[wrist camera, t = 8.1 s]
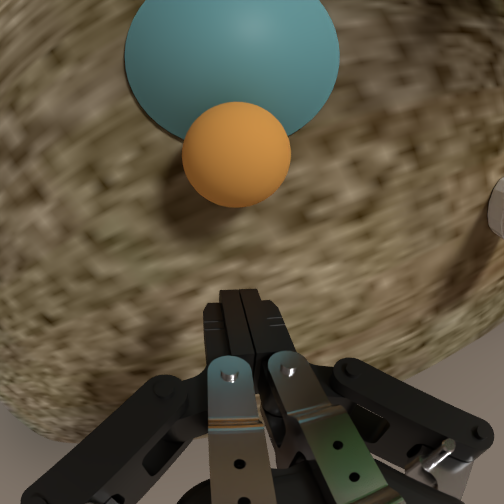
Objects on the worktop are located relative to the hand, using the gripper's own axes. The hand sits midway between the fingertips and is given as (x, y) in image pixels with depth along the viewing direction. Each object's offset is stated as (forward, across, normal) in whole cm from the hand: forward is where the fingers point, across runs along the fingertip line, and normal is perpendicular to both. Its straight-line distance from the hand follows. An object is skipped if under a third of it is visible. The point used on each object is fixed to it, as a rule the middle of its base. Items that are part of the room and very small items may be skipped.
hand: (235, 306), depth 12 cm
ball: (+5, 0, -5) cm, 8 cm away
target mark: (+8, 0, -12) cm, 14 cm away
